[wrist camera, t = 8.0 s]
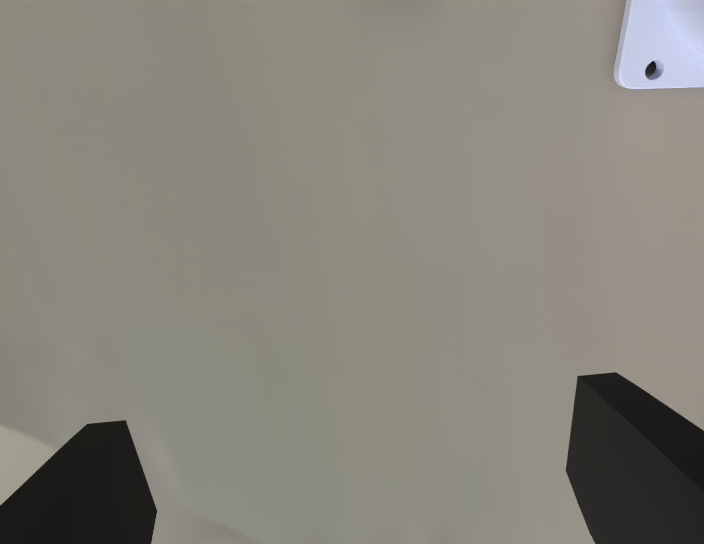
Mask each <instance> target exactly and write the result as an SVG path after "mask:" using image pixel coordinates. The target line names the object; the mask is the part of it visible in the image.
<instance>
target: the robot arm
mask: <svg viewBox="0 0 704 544" xmlns="http://www.w3.org/2000/svg"><path fill="white" fill-rule="evenodd" d="M652 61H655V63H656V70H655V72H654V74H653V75H651V76H650V77H648V78H647V77H646V76H645V70H646V67H647V65H648V64H649V63H651V62H652ZM614 78H615V80H616V83H618V84H619V85H620V86H622V87H625V88H630V89H649V88H685V87H704V0H626V6H625V11H624V17H623V22H622V28H621V33H620V38H619V44H618V49H617V55H616V60H615V66H614ZM566 472H567V475H568V477H569V480H570V483H571V485H572V488H573V491H574V494H575V496H576V499H577V502H578V504H579V507H580V509H581V512H582V514H583V517H584V519H585V522H586V524H587V527H588V529H589V532H590V534H591V536H592V538H593V540H594V542H595V544H704V431H703V430H702V429H700V428H699V427H697V426H696V425H694V424H693V423H691V422H690V421H688V420H687V419H685V418H684V417H682V416H681V415H680V414H678V413H677V412H675V411H674V410H672V409H671V408H669V407H668V406H666V405H665V404H663V403H662V402H660V401H659V400H657V399H656V398H654V397H653V396H651V395H650V394H649V393H647V392H646V391H644V390H643V389H641V388H640V387H638V386H637V385H635V384H633V383H632V382H630V381H629V380H627V379H626V378H624V377H622V376H621V375H619V374H618V373H616V372H615V373H605V374H595V375H585V376H578V378H577V386H576V394H575V402H574V410H573V418H572V426H571V434H570V442H569V450H568V458H567V466H566ZM156 514H157V509H156V506H155V504H154V501H153V498H152V495H151V492H150V489H149V486H148V483H147V480H146V478H145V475H144V472H143V469H142V466H141V463H140V460H139V457H138V455H137V452H136V449H135V446H134V443H133V440H132V437H131V434H130V432H129V429H128V426H127V423H126V420H124V421H114V422H103V423H93V424H87V425H86V426H85V427H83V428H82V429H81V430H80V431H79V432H78V433H77V434H75V435H74V436H73V437H72V438H71V439H70V440H69V441H68V442H67V443H66V444H65V445H64V446H63V447H61V448H60V449H59V450H58V451H57V452H56V453H55V454H54V455H53V456H52V457H51V458H50V459H49V460H48V461H47V462H46V463H45V464H44V465H43V466H42V467H41V468H40V469H38V470H37V471H36V472H35V473H34V474H33V475H32V476H31V477H30V478H29V479H28V480H27V481H26V482H25V483H24V484H23V485H22V486H21V487H20V488H19V489H17V490H16V491H15V492H14V493H13V494H12V495H11V496H10V497H9V498H8V499H7V500H6V501H5V502H4V503H3V504H2V505H0V544H151V541H152V535H153V530H154V524H155V519H156Z"/></svg>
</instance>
